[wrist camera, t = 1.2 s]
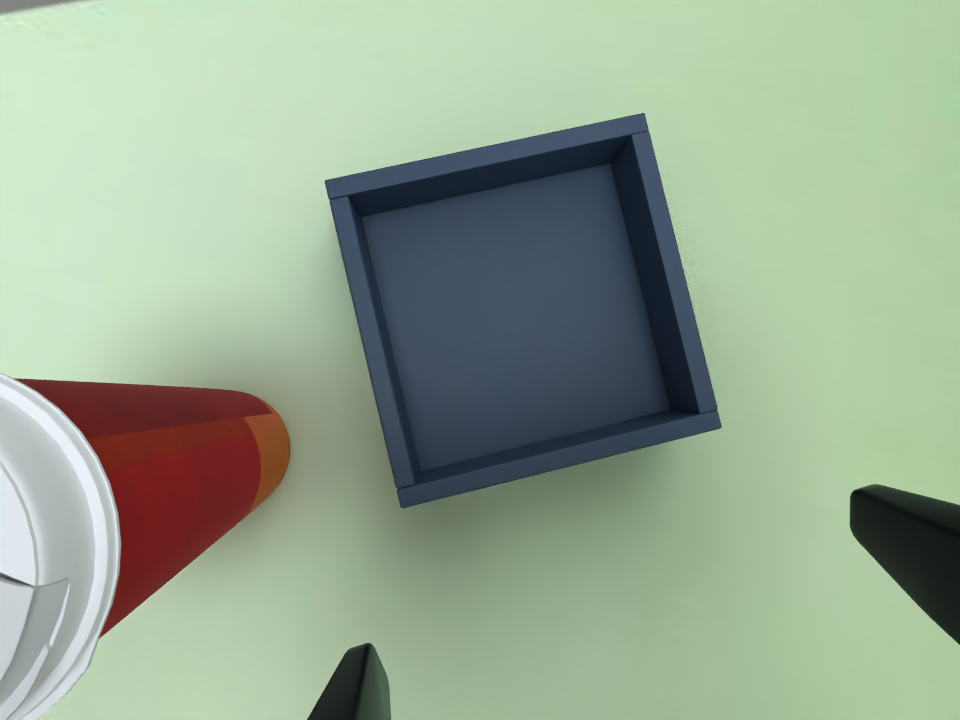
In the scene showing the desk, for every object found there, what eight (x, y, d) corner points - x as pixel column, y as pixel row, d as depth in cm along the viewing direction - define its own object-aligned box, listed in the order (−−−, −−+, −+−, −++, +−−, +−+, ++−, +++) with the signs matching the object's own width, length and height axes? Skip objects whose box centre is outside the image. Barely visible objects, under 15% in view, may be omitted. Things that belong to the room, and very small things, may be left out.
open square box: (682, 420, 23) (722, 428, 19) (409, 488, 22) (400, 509, 19) (616, 151, 23) (644, 112, 20) (344, 210, 22) (324, 180, 19)
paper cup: (110, 437, 22) (-529, 553, 8) (245, 334, 22) (-122, 265, 8) (216, 570, 22) (-226, 929, 8) (349, 465, 22) (163, 622, 8)
